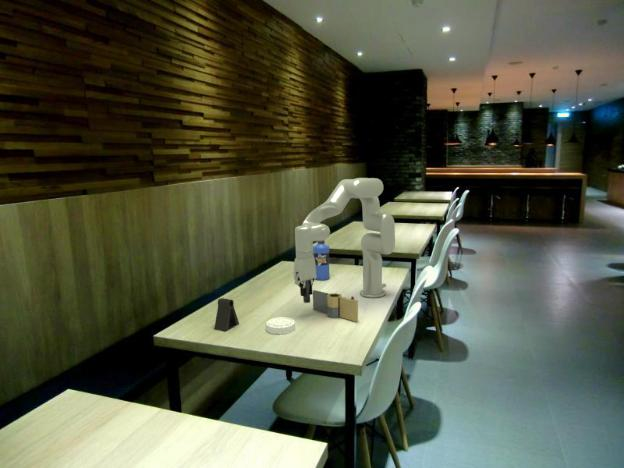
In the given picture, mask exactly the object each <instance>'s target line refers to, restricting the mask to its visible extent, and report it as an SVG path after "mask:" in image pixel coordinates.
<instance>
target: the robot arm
mask: <svg viewBox="0 0 624 468" xmlns="http://www.w3.org/2000/svg"><path fill="white" fill-rule="evenodd" d="M383 191H384V184H383V181H382V180H381V179H379V178H377V177H376V178H375V177H371V178H370V177H369V178H368V177H356V178H353V179H351V178H346V179H342V180H340V181H339V182H338V184H337V185H336V186H335V188H334V189H333V190H332V192H331V194H330V195H329V197H328V198H327V200H326V201H325V202H323V203H321V204H320V205H319V206H318V207H315V208H314V209H313V210H312V211H311V212H309V213H308V214H307V216H306V218H305V219H304V220H303V222H302V224H301V225H298V226H296V227H294V228H295V229H294V239H295V241H294V242H295V243H294V244H295V258H294V263H293V280H294V285H296V286H298V287H299V288H300V289H299V291H300V296H301V297H307V290H306V288H305V281H307V280H309V283H310V296H311V295H312V296H313V285H314V282H315V281H316V280H315V279H316V278H317V275H316V264H315V258H314V253H313V252H314V250H313V246H314V242H317V241H323V240H327V239H329V237H330V235H331V230H330V228H329V226H328V225H327V224H325V223H321V222H323V221H324V220H326V219H329V218H332V217H335V216H338V215H340V214H342V212H343V211H344V210H345V207H346V206H347V205H348V204H349V202H350V200H351V199H359V201H360V202H361V206H362V223H363V228H364V229H366V230H367V231H371V232H367V233H365V234H363V235H362V236H361V239H360V246H361V247H360V248H361V251H362V260H363V261H362V289H361V290H360V291H359V294H360V296H362V297H365V298H371V299H372V298H373V299H375V298H381V297H384V296H385V295H386V292H385V291H384V288H386V287H387V284H386V283H383V258H382V256H381V255H391V254H392V253H393V252H394V251H395V247H396V230H395V229H396V228H395V227H396V226H395V219H394V217H393V215H392V214H390V213H388V212H382V211H381V207H380V206H381V205H380V200H379V196H380V195H381V194H382V193H383ZM372 231H373V232H372ZM377 232H378V233H377Z"/></svg>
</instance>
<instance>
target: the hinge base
mask: <svg viewBox="0 0 624 468" xmlns="http://www.w3.org/2000/svg"><path fill="white" fill-rule="evenodd" d="M312 293H313V294H312V311H317V312H319V313H322V314H326V315H327V318H331V319H338V318H339V319H340V318H341V317H340V307H338V308H331V307H328V306H327V295H328V294H329V293H328V292H323V291H321V290H316V289H312Z"/></svg>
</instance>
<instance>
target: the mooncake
mask: <svg viewBox="0 0 624 468" xmlns="http://www.w3.org/2000/svg"><path fill="white" fill-rule="evenodd" d="M265 329H266V332H267V333H268V334H271V335H286V334H290V333H293V332H294V331H295V330H296V320H294V318H290V317H286V316H278V317H273V318H271V319H269V320H267V321H266V322H265Z"/></svg>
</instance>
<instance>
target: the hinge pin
mask: <svg viewBox="0 0 624 468" xmlns="http://www.w3.org/2000/svg"><path fill="white" fill-rule="evenodd" d="M305 288H306V290H307V297H303V296H302V297H303V298H302V299H303V303H304V304H308V303H310V302H311V295H310V283H309V280H307V281H305Z"/></svg>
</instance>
